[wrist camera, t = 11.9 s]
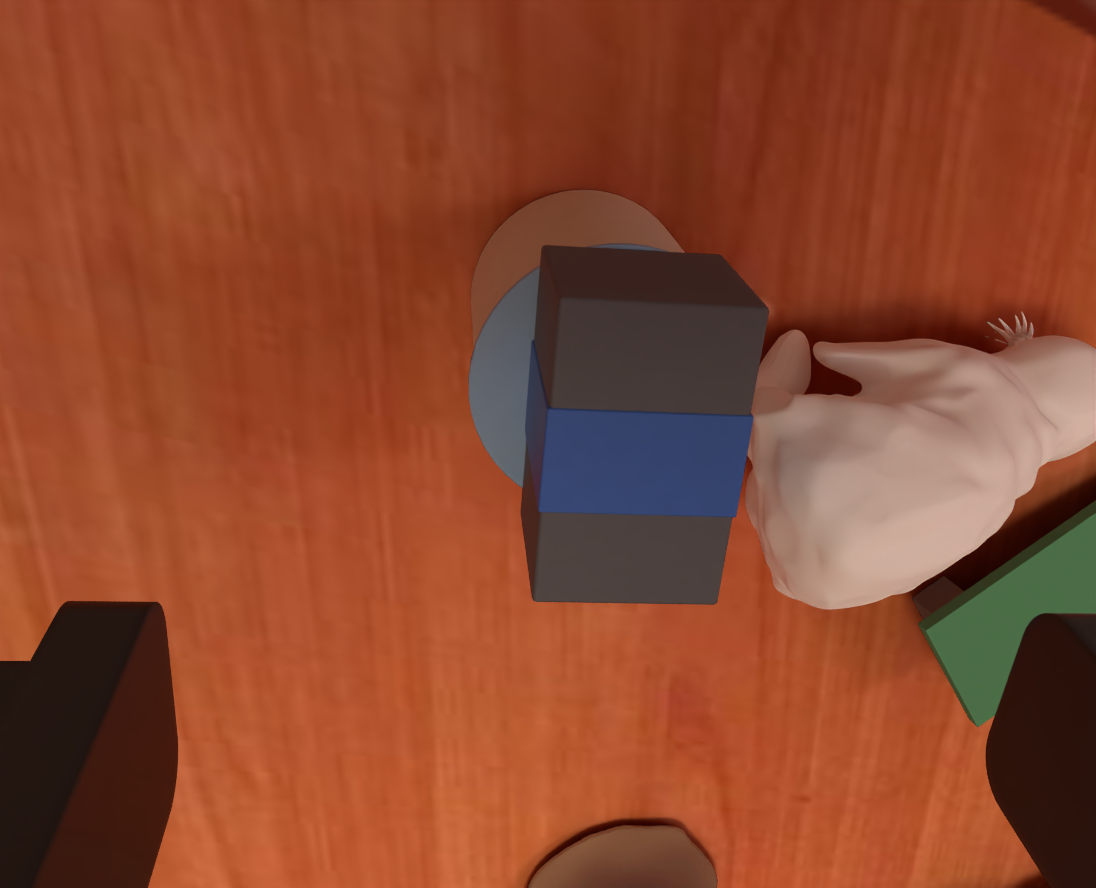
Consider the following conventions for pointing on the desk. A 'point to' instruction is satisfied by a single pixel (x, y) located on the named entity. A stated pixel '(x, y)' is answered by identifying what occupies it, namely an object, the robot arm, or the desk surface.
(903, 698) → the desk surface
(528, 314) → the yogurt
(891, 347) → the white lumpy elongated piece
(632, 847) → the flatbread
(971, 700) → the circuit board
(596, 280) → the block
